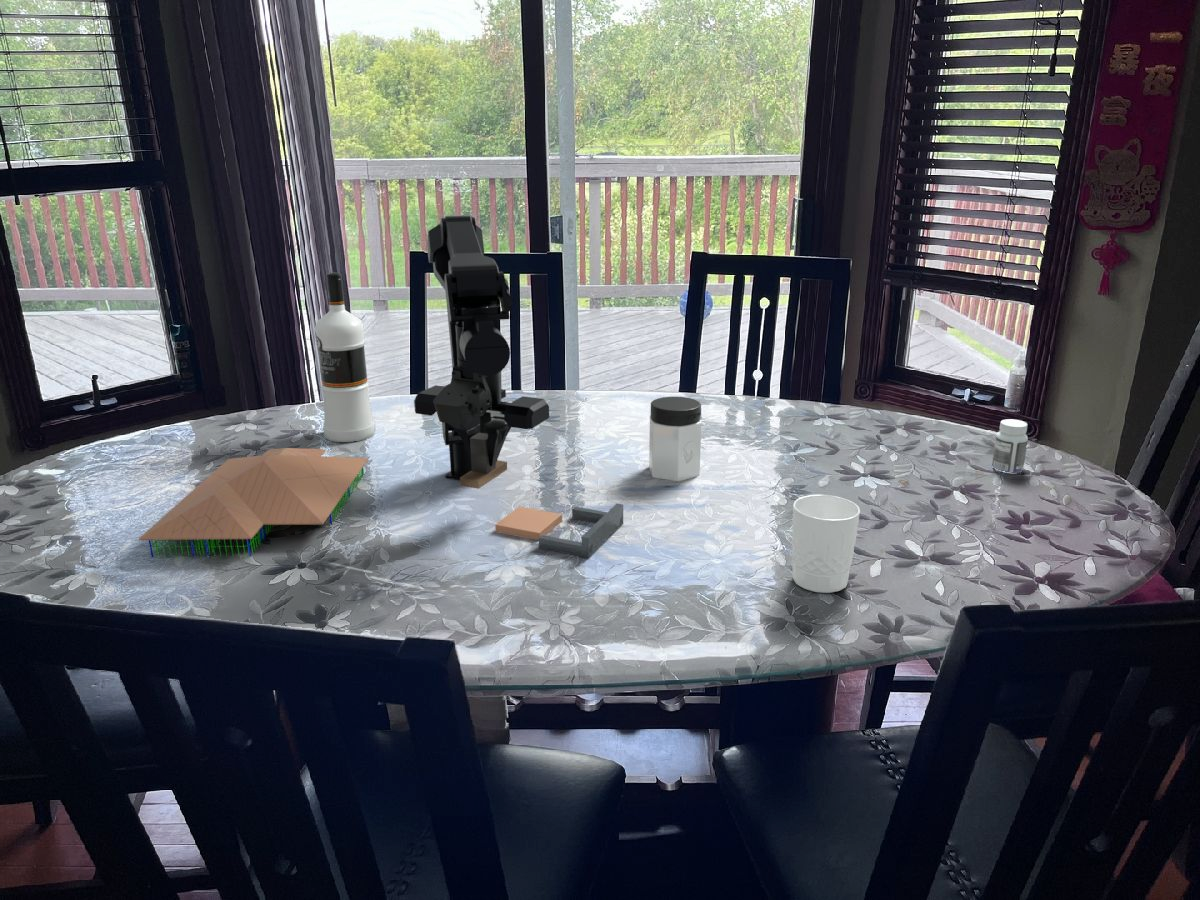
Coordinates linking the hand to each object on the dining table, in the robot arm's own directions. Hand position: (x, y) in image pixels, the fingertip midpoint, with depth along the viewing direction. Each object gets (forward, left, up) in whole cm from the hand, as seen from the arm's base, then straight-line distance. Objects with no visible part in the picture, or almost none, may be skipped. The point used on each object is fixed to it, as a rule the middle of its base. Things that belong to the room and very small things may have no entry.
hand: (483, 463), depth 127 cm
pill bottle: (+69, +50, -9) cm, 86 cm away
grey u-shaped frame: (+15, 0, -8) cm, 17 cm away
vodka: (-42, +22, -9) cm, 48 cm away
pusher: (0, 0, -2) cm, 2 cm away
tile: (+7, 0, -9) cm, 11 cm away
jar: (+19, +28, -9) cm, 35 cm away
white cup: (+48, 0, -9) cm, 49 cm away
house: (-31, -10, -9) cm, 34 cm away
